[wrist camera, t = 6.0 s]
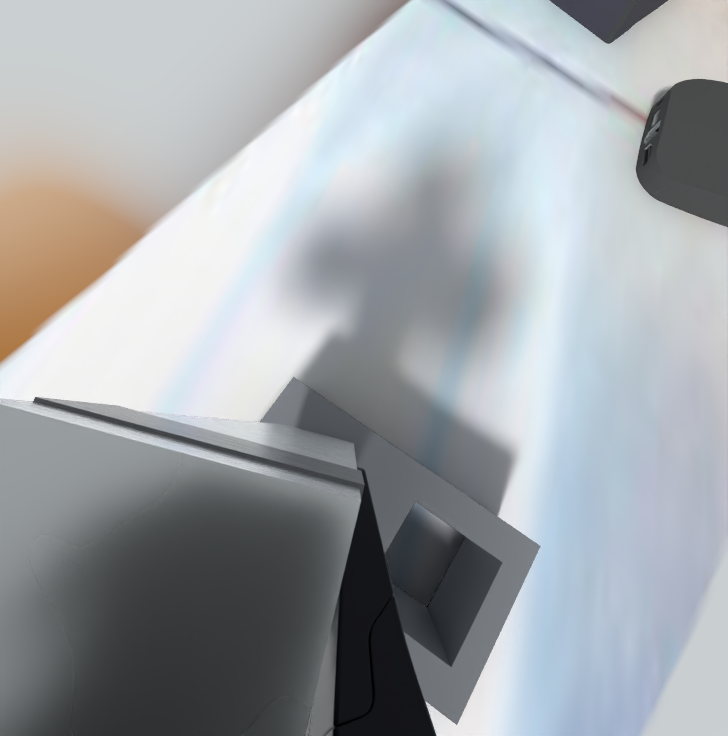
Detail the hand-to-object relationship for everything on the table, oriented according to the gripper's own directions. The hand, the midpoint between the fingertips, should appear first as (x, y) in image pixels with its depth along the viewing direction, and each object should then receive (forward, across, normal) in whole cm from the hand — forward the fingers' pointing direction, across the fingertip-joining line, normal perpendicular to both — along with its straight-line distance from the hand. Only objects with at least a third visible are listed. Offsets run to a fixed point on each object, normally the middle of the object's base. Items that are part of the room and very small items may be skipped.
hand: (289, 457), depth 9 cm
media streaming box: (+36, -31, -17) cm, 50 cm away
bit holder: (+7, -4, +12) cm, 15 cm away
